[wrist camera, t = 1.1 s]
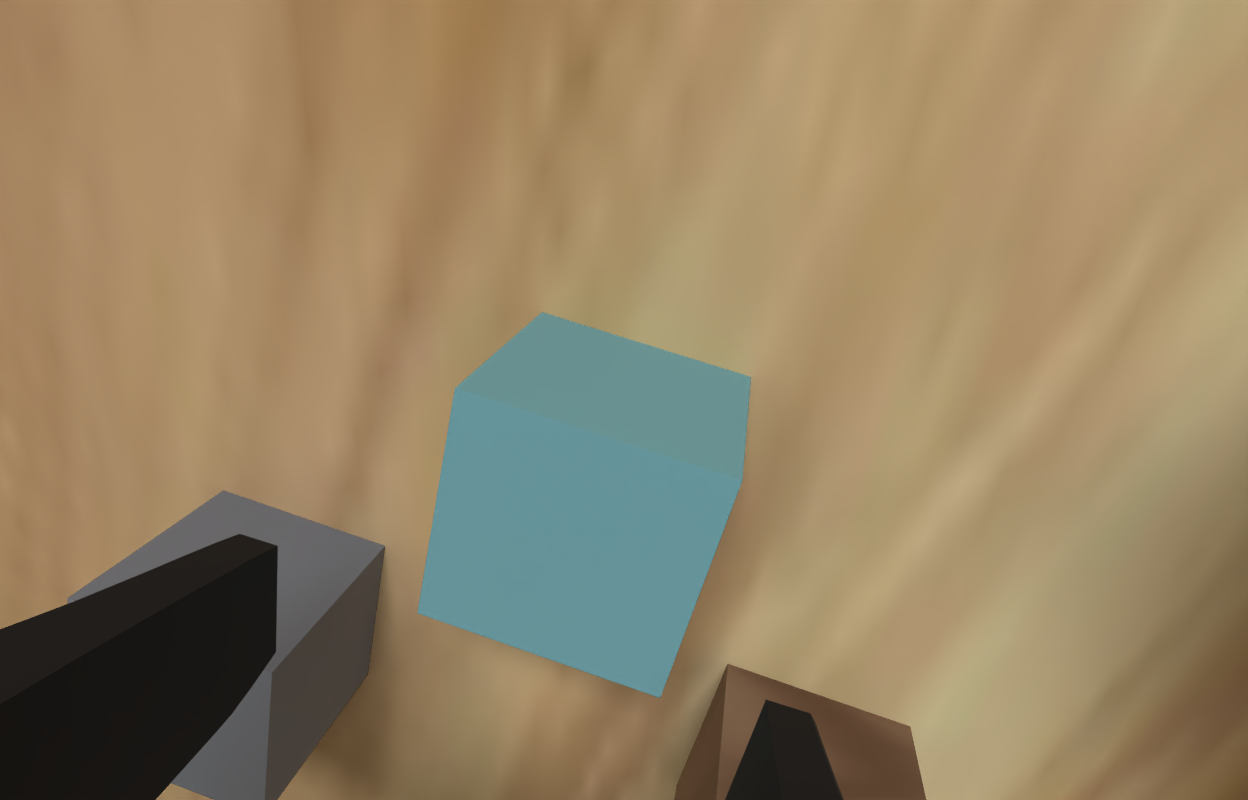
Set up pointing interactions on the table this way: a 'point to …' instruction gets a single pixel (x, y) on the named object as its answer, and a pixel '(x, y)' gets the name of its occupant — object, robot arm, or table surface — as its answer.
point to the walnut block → (853, 739)
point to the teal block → (585, 498)
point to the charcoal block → (278, 641)
